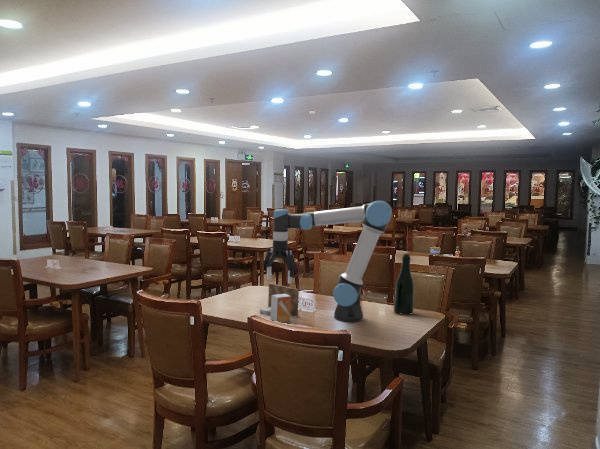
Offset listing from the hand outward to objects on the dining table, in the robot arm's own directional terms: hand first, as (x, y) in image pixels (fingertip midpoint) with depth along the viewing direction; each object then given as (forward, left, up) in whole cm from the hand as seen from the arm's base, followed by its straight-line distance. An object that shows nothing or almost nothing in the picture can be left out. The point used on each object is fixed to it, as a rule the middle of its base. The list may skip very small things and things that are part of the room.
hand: (279, 281), depth 241 cm
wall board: (+7, -7, -19) cm, 22 cm away
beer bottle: (-41, -58, -20) cm, 74 cm away
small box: (-3, +2, -20) cm, 20 cm away
